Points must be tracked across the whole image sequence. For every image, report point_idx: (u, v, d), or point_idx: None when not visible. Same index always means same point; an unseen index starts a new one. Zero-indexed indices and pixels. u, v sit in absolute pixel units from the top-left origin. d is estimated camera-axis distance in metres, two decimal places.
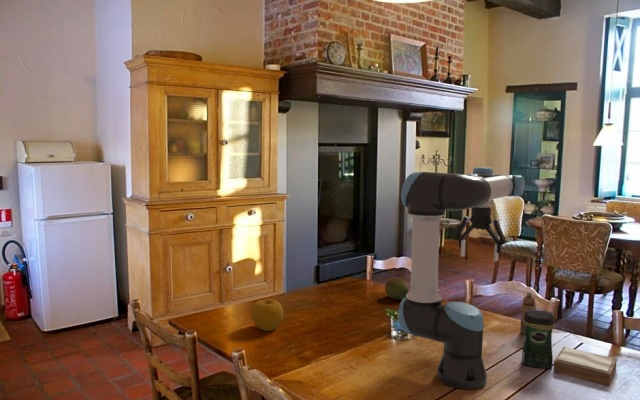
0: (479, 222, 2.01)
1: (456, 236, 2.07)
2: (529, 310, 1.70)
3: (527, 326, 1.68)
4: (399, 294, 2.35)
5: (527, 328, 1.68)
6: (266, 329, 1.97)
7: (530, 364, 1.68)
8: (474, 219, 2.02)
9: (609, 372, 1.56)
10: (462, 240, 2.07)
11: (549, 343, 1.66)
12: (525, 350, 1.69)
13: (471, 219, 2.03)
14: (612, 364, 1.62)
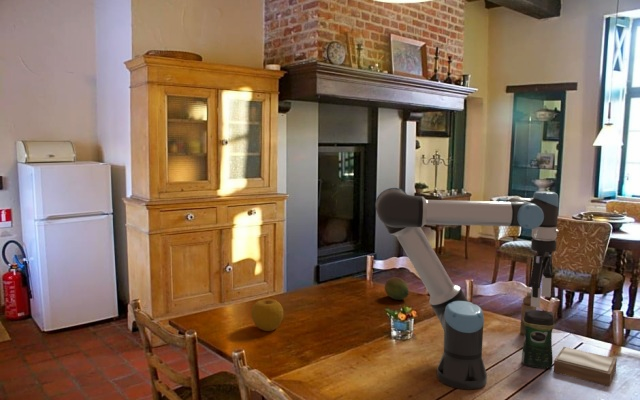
0: None
1: None
2: (529, 310, 1.70)
3: (527, 326, 1.68)
4: (399, 294, 2.35)
5: (527, 328, 1.68)
6: (266, 329, 1.97)
7: (530, 364, 1.68)
8: None
9: (609, 372, 1.56)
10: (545, 277, 1.74)
11: (549, 343, 1.66)
12: (525, 350, 1.69)
13: None
14: (612, 364, 1.62)
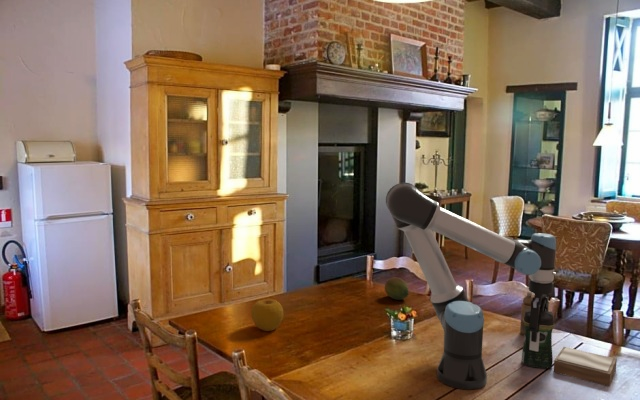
0: None
1: None
2: (529, 310, 1.70)
3: (527, 326, 1.68)
4: (399, 294, 2.35)
5: (527, 328, 1.68)
6: (266, 329, 1.97)
7: (530, 364, 1.68)
8: None
9: (609, 372, 1.56)
10: None
11: (549, 343, 1.66)
12: (525, 350, 1.69)
13: None
14: (612, 364, 1.62)
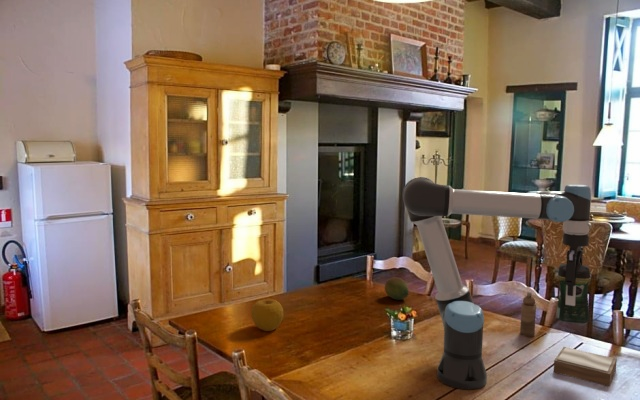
0: None
1: None
2: (563, 264, 1.65)
3: (562, 280, 1.63)
4: (399, 294, 2.35)
5: (562, 282, 1.63)
6: (266, 329, 1.97)
7: (566, 320, 1.63)
8: None
9: (609, 372, 1.56)
10: None
11: (586, 297, 1.61)
12: (560, 305, 1.64)
13: None
14: (612, 364, 1.62)
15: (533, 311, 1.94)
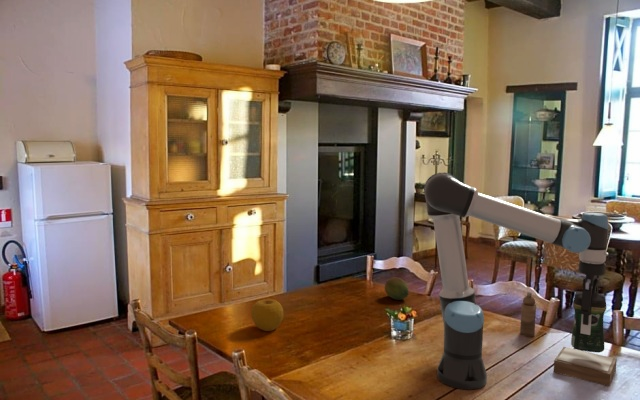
0: None
1: None
2: (579, 292, 1.64)
3: (578, 309, 1.62)
4: (399, 294, 2.35)
5: (578, 311, 1.62)
6: (266, 329, 1.97)
7: (581, 348, 1.62)
8: None
9: (609, 372, 1.56)
10: None
11: (601, 326, 1.60)
12: (575, 334, 1.63)
13: None
14: (612, 364, 1.62)
15: (533, 311, 1.94)
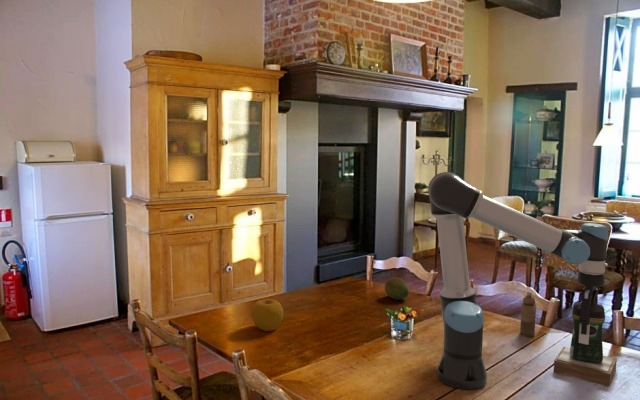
0: None
1: None
2: (578, 303, 1.64)
3: (577, 319, 1.62)
4: (399, 294, 2.35)
5: None
6: (266, 329, 1.97)
7: (580, 359, 1.62)
8: None
9: (609, 372, 1.56)
10: None
11: (600, 337, 1.61)
12: (574, 344, 1.63)
13: None
14: (612, 364, 1.62)
15: (533, 311, 1.94)
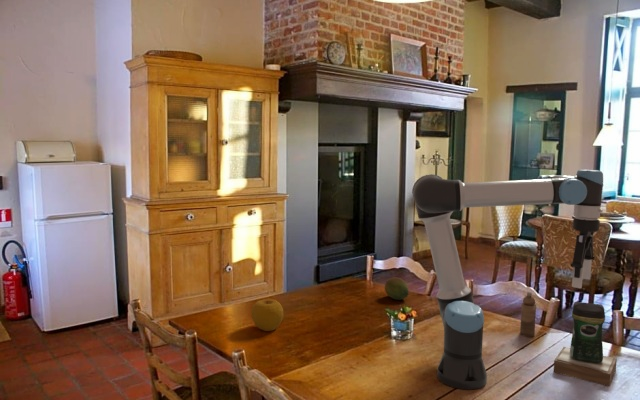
0: None
1: None
2: (578, 303, 1.64)
3: (577, 319, 1.62)
4: (399, 294, 2.35)
5: (577, 321, 1.62)
6: (266, 329, 1.97)
7: (580, 359, 1.62)
8: None
9: (609, 372, 1.56)
10: (585, 259, 1.69)
11: (600, 337, 1.61)
12: (574, 344, 1.63)
13: None
14: (612, 364, 1.62)
15: (533, 311, 1.94)
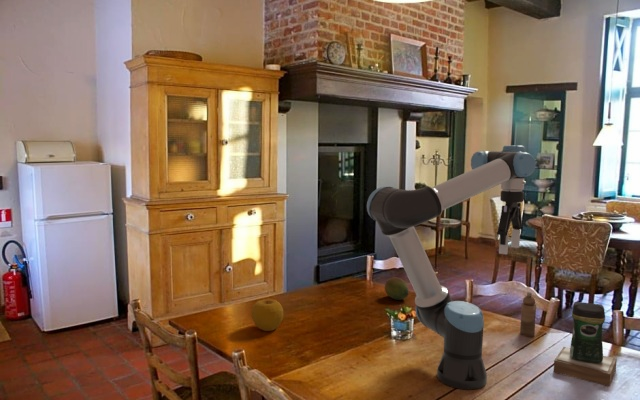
0: None
1: None
2: (578, 303, 1.64)
3: (577, 319, 1.62)
4: (399, 294, 2.35)
5: (577, 321, 1.62)
6: (266, 329, 1.97)
7: (580, 359, 1.62)
8: None
9: (609, 372, 1.56)
10: (514, 229, 1.82)
11: (600, 337, 1.61)
12: (574, 344, 1.63)
13: None
14: (612, 364, 1.62)
15: (533, 311, 1.94)
